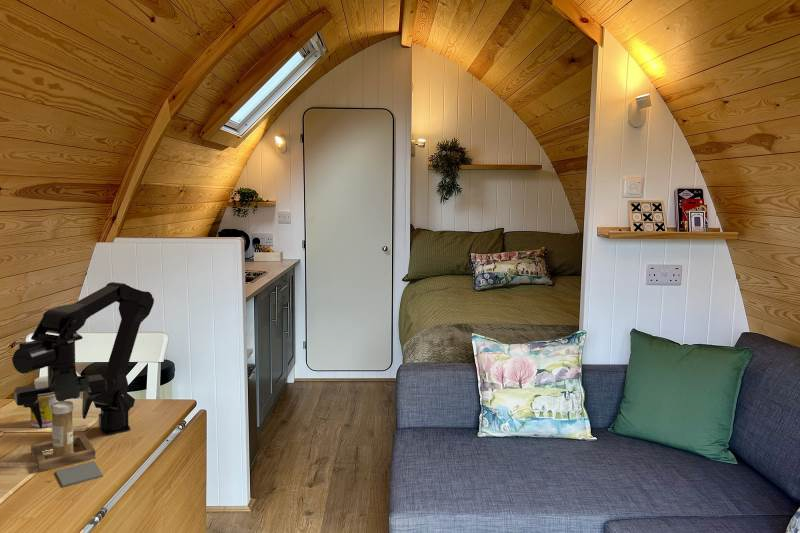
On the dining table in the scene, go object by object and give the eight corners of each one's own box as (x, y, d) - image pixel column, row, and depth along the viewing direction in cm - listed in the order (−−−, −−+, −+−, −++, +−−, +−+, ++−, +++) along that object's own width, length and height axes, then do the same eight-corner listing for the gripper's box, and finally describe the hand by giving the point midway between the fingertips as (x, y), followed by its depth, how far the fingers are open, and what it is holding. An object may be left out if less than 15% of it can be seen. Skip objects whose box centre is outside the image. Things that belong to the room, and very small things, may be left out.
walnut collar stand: (84, 440, 142) (83, 433, 142) (95, 458, 134) (95, 450, 134) (31, 452, 135) (30, 445, 134) (39, 472, 126) (39, 463, 126)
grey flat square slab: (94, 462, 132) (94, 461, 132) (102, 476, 126) (102, 474, 126) (55, 472, 126) (55, 470, 126) (62, 487, 121) (62, 485, 120)
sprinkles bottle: (77, 455, 135) (76, 403, 133) (57, 461, 131) (56, 408, 129) (68, 449, 137) (67, 398, 136) (48, 455, 134) (47, 403, 132)
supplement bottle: (25, 425, 149) (23, 380, 147) (47, 416, 155) (46, 373, 154) (43, 430, 147) (42, 384, 145) (65, 421, 153) (64, 377, 152)
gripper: (19, 377, 119) (22, 445, 121) (113, 363, 132) (113, 425, 134) (12, 363, 127) (14, 427, 129) (101, 352, 140) (101, 410, 142)
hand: (62, 422), depth 133 cm, fingers open, 9 cm apart
